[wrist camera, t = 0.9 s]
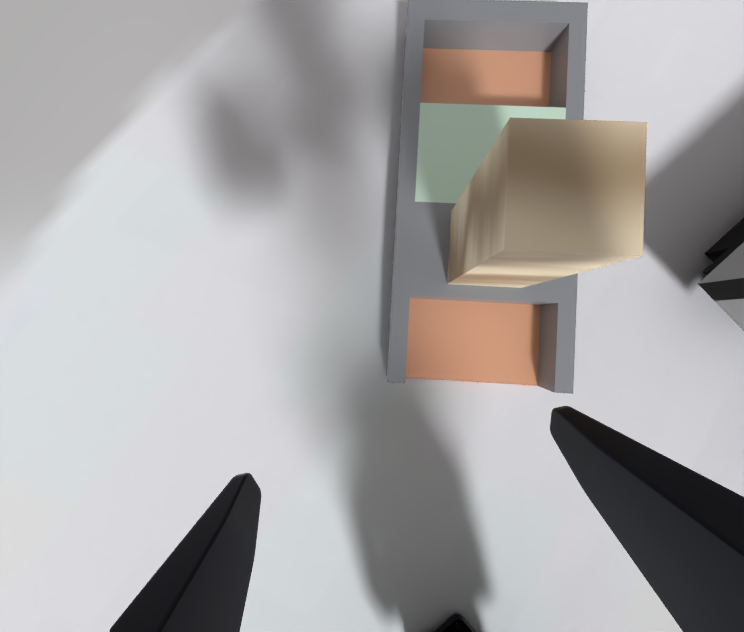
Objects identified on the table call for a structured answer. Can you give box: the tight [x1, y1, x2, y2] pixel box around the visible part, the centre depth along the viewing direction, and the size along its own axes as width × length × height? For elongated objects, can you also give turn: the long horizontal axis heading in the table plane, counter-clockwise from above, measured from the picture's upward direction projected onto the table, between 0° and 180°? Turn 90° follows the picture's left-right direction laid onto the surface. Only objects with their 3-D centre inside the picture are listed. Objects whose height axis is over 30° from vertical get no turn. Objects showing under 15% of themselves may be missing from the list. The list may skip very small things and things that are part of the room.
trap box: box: [387, 0, 588, 394], centre depth 21 cm, size 27×12×2 cm, turn 177°
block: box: [447, 117, 647, 288], centre depth 15 cm, size 5×5×9 cm
